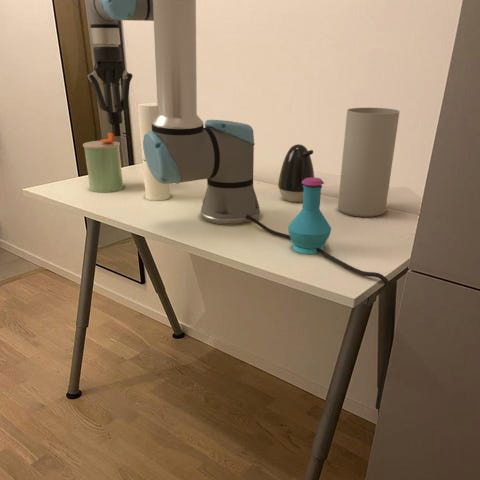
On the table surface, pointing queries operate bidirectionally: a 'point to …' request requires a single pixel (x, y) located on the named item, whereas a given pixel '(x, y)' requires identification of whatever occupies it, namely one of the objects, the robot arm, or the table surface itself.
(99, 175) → the green lidded canister
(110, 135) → the lid slider
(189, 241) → the table surface
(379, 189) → the cylinder vase
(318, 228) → the perfume bottle
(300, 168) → the pump dispenser
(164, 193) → the cylindrical container
